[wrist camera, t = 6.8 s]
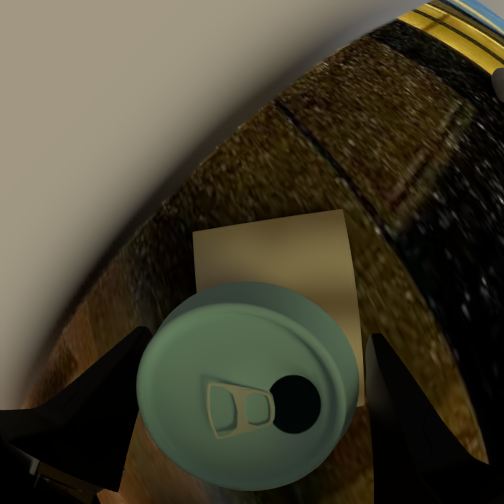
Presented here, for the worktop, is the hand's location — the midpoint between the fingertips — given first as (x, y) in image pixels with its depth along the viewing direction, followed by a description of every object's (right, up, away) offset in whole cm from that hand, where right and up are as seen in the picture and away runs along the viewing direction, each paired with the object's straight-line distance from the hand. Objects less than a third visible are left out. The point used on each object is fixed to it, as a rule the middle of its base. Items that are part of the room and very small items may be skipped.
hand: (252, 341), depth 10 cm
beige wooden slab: (+2, -2, +11) cm, 11 cm away
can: (+2, -3, +8) cm, 9 cm away
